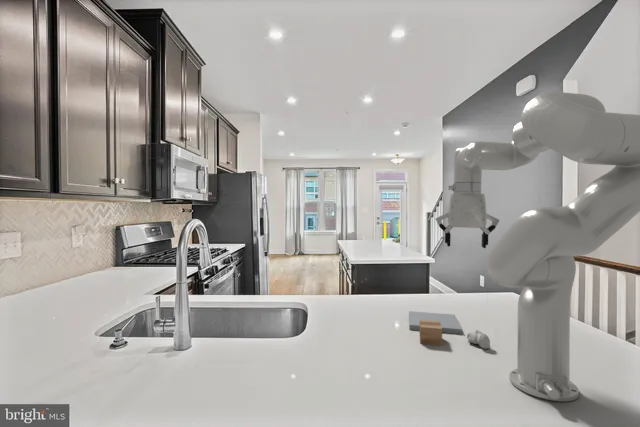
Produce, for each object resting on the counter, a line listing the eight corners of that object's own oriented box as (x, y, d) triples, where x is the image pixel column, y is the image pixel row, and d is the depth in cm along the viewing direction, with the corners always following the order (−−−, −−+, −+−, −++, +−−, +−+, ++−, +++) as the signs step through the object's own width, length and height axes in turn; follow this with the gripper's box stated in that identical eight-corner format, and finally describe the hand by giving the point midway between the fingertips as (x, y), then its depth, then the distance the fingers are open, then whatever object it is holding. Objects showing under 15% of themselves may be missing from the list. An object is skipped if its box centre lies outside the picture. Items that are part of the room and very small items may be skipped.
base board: (461, 334, 105) (461, 329, 105) (409, 329, 109) (409, 324, 109) (454, 318, 121) (454, 314, 121) (409, 315, 125) (409, 311, 125)
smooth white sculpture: (465, 343, 101) (482, 338, 100) (476, 354, 93) (494, 349, 92) (461, 329, 101) (477, 325, 101) (471, 339, 93) (489, 334, 93)
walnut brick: (441, 346, 96) (442, 328, 96) (420, 344, 97) (420, 326, 97) (439, 337, 102) (439, 321, 102) (419, 335, 104) (419, 319, 104)
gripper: (436, 188, 98) (435, 246, 98) (502, 188, 92) (501, 249, 93) (435, 190, 105) (434, 244, 105) (497, 189, 100) (495, 246, 100)
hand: (465, 246), depth 99 cm, fingers open, 9 cm apart
